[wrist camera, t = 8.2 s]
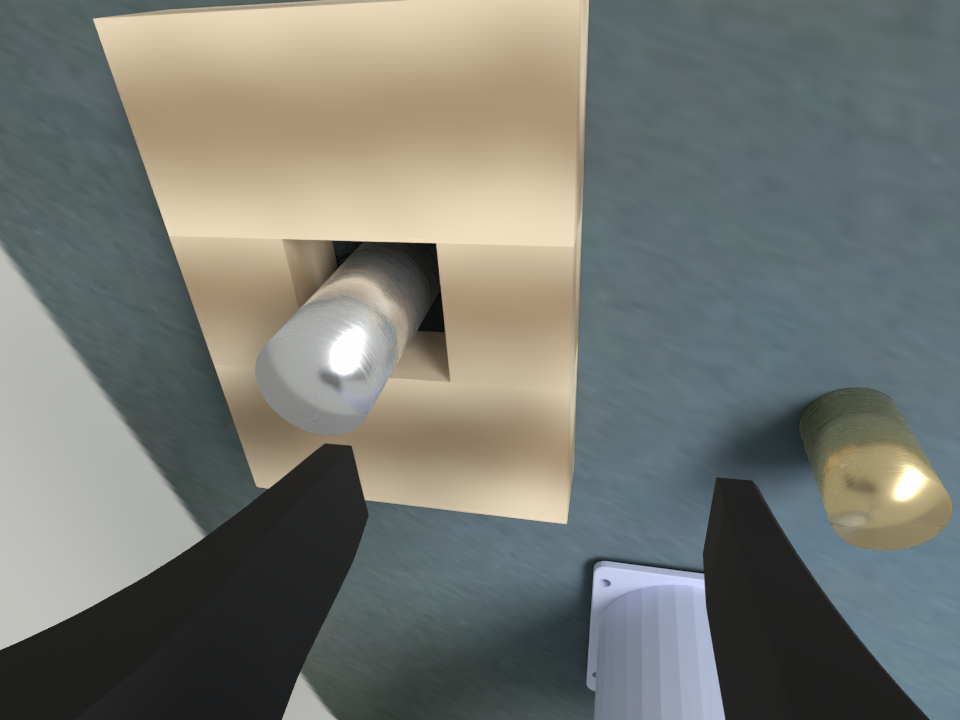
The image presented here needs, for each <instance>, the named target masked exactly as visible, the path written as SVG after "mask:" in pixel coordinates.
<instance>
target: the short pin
mask: <svg viewBox="0 0 960 720" xmlns="http://www.w3.org/2000/svg"><path fill="white" fill-rule="evenodd" d="M799 432H800V436H801V439H802V442H803V445H804V448H805V451H806V454H807V457H808V460H809V463H810V466H811V468H812V471H813V474H814V477H815V480H816V483H817V486H818V489H819V492H820V495H821V498H822V501H823V504H824V507H825V510H826V513H827V516H828V519H829V522H830V524H831V527H832V528H833V530H834V531H835V533H836V534H837V535H838V536H839V537H841V538H842V539H843V540H845V541H846V542H848V543H850V544H853V545H855V546H858V547H861V548H865V549H871V550H898V549H905V548H909V547H913V546H916V545H919V544H921V543H923V542H926V541H928V540H929V539H931V538H933V537H934V536H936V535H937V534H938V533H940V532H941V531H942V530H943V529H944V528H945V526H946V525H947V524H948V522H949V521H950V518H951V516H952V511H953V505H952V501H951V498H950V496H949V495H948V493H947V491H946V489H945V488H944V486H943V484H942V482H941V481H940V479H939V477H938V475H937V474H936V472H935V470H934V468H933V467H932V465H931V463H930V462H929V460H928V458H927V456H926V455H925V453H924V451H923V449H922V448H921V446H920V444H919V442H918V441H917V439H916V437H915V435H914V434H913V432H912V430H911V429H910V427H909V425H908V423H907V422H906V420H905V418H904V416H903V415H902V413H901V411H900V409H899V408H898V406H897V405H896V403H895V402H894V401H893V400H892V399H891V398H890V397H888V396H887V395H885V394H883V393H881V392H879V391H876V390H872V389H868V388H845V389H840V390H836V391H833V392H830V393H827V394H825V395H823V396H821V397H820V398H818V399H817V400H815V401H814V402H813V403H811V404H810V405H809V406H808V407H807V409H806V410H805V411H804V413H803V415H802V417H801V419H800V423H799Z"/></svg>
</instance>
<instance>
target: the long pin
mask: <svg viewBox="0 0 960 720" xmlns="http://www.w3.org/2000/svg"><path fill="white" fill-rule="evenodd" d="M440 290H441V285H440V275H439V266H438V256H437V249H436V248H435V246H434V245H433V244H432V243H409V242H371V241H364V242H363V243H362V244H361V245H360V246H359V247H358V248H357V249H356V250H355V251H354V252H353V253H352V254H351V255H350V256H349V257H348V259H347V260H346V261H345V262H344V263H343V264H342V265H341V266H340V267H339V268H338V269H337V270H336V271H335V272H334V273H333V274H332V275H331V276H330V277H329V279H328V280H327V281H326V282H325V283H324V284H323V285H322V286H321V287H320V288H319V289H318V290H317V291H316V292H315V293H314V294H313V295H312V296H311V297H310V299H309V300H308V301H307V302H306V303H305V304H304V305H303V306H302V307H301V308H300V309H299V310H298V311H297V312H296V313H295V314H294V315H293V316H292V317H291V319H290V320H289V321H288V322H287V323H286V324H285V325H284V326H283V327H282V328H281V329H280V330H279V331H278V332H277V333H276V334H275V335H274V336H273V338H272V339H271V340H270V341H269V342H268V343H267V344H266V345H265V346H264V347H263V348H262V350H261V351H260V352H259V354H258V357H257V359H256V363H255V377H256V381H257V384H258V387H259V390H260V392H261V394H262V395H263V397H264V399H265V400H266V402H267V403H268V404H269V405H270V407H271V408H272V409H273V410H274V411H275V412H276V413H277V414H279V415H280V416H281V417H282V418H283V419H285V420H286V421H288V422H289V423H291V424H293V425H294V426H296V427H298V428H300V429H303V430H305V431H308V432H311V433H315V434H321V435H339V434H344V433H347V432H350V431H352V430H354V429H355V428H357V427H358V426H360V424H361V423H362V422H363V421H364V420H365V418H366V417H367V415H368V413H369V412H370V410H371V408H372V407H373V405H374V403H375V401H376V400H377V398H378V396H379V395H380V393H381V391H382V389H383V388H384V386H385V384H386V383H387V381H388V379H389V377H390V376H391V374H392V372H393V371H394V369H395V367H396V365H397V364H398V362H399V360H400V359H401V357H402V355H403V353H404V352H405V350H406V348H407V347H408V345H409V343H410V342H411V340H412V338H413V336H414V335H415V333H416V331H417V330H418V328H419V326H420V324H421V323H422V321H423V319H424V318H425V316H426V314H427V312H428V311H429V309H430V307H431V306H432V304H433V302H434V300H435V299H436V297H437V295H438V294H439V292H440Z"/></svg>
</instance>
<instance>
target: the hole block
mask: <svg viewBox="0 0 960 720" xmlns="http://www.w3.org/2000/svg"><path fill="white" fill-rule="evenodd" d="M588 15H589V0H320V1H304V2H287V3H271V4H254V5H237V6H221V7H204V8H188V9H171V10H161V11H153V12H145V13H137V14H128V15H120V16H112V17H103V18H95V19H93V20H94V23H95V26H96V28H97V31H98V34H99V37H100V40H101V43H102V46H103V49H104V51H105V54H106V57H107V60H108V63H109V66H110V69H111V71H112V74H113V77H114V80H115V83H116V86H117V89H118V91H119V94H120V97H121V100H122V103H123V106H124V109H125V111H126V114H127V117H128V120H129V123H130V126H131V129H132V132H133V134H134V137H135V140H136V143H137V146H138V149H139V152H140V154H141V157H142V160H143V163H144V166H145V169H146V172H147V174H148V177H149V180H150V183H151V186H152V189H153V192H154V194H155V197H156V200H157V203H158V206H159V209H160V212H161V215H162V217H163V220H164V223H165V226H166V229H167V232H168V235H169V237H170V240H171V243H172V246H173V249H174V252H175V255H176V257H177V260H178V263H179V266H180V269H181V272H182V275H183V278H184V280H185V283H186V286H187V289H188V292H189V295H190V298H191V300H192V303H193V306H194V309H195V312H196V315H197V318H198V320H199V323H200V326H201V329H202V332H203V335H204V338H205V340H206V343H207V346H208V349H209V352H210V355H211V358H212V361H213V363H214V366H215V369H216V372H217V375H218V378H219V381H220V383H221V386H222V389H223V392H224V395H225V398H226V401H227V403H228V406H229V409H230V412H231V415H232V418H233V421H234V423H235V426H236V429H237V432H238V435H239V438H240V441H241V444H242V446H243V449H244V452H245V455H246V458H247V461H248V464H249V466H250V469H251V472H252V475H253V478H254V481H255V484H256V486H257V487H260V488H270V487H272V486H273V485H274V484H275V483H276V482H278V481H279V480H280V479H281V478H283V477H284V476H285V475H286V474H287V473H289V472H290V471H291V470H292V469H294V468H295V467H296V466H297V465H298V464H300V463H301V462H302V461H303V460H304V459H306V458H307V457H308V456H309V455H311V454H312V453H313V452H314V451H316V450H317V449H318V448H320V447H321V446H322V445H323V444H325V443H327V444H339V445H350V446H352V449H353V453H354V457H355V461H356V466H357V470H358V474H359V478H360V482H361V486H362V490H363V495H364V499H365V500H369V501H378V502H386V503H395V504H403V505H411V506H420V507H428V508H436V509H445V510H453V511H462V512H470V513H478V514H487V515H495V516H503V517H512V518H520V519H529V520H537V521H545V522H554V523H562V524H567V518H568V510H569V502H570V494H571V486H572V477H573V469H574V449H575V418H576V387H577V356H578V325H579V294H580V263H581V232H582V201H583V170H584V139H585V108H586V77H587V46H588ZM332 240H334V241H371V242H409V243H436V246H437V256H438V266H439V275H440V285H441V295H442V305H443V314H444V324H445V332H432V331H416V333H415V335H414V336H413V338H412V340H411V342H410V343H409V345H408V347H407V348H406V350H405V352H404V353H403V355H402V357H401V359H400V360H399V362H398V364H397V365H396V367H395V369H394V371H393V372H392V374H391V376H390V377H389V379H388V381H387V383H386V384H385V386H384V388H383V389H382V391H381V393H380V395H379V396H378V398H377V400H376V401H375V403H374V405H373V407H372V408H371V410H370V412H369V413H368V415H367V417H366V418H365V420H364V421H363V422H362V423H361V424H360V426H358V427H357V428H355V429H354V430H352V431H350V432H347V433H344V434H339V435H321V434H315V433H311V432H308V431H305V430H303V429H300V428H298V427H296V426H294V425H293V424H291V423H289V422H288V421H286V420H285V419H283V418H282V417H281V416H280V415H279V414H277V413H276V412H275V411H274V410H273V409H272V408H271V407H270V405H269V404H268V403H267V402H266V400H265V399H264V397H263V395H262V394H261V392H260V390H259V387H258V384H257V381H256V377H255V363H256V359H257V357H258V354H259V352H260V351H261V350H262V348H263V347H264V346H265V345H266V344H267V343H268V342H269V341H270V340H271V339H272V338H273V336H274V335H275V334H276V333H277V332H278V331H279V330H280V329H281V328H282V327H283V326H284V325H285V324H286V323H287V322H288V321H289V320H290V319H291V317H292V316H293V315H294V314H295V313H296V312H297V311H298V310H299V309H300V308H301V307H302V306H303V305H304V304H305V303H306V302H307V301H308V300H309V299H310V297H311V296H312V295H313V294H314V293H315V292H316V291H317V290H318V289H319V288H320V287H321V286H322V285H323V284H324V283H325V282H326V281H327V280H328V279H329V277H330V276H331V275H332V274H333V273H334V272H335V271H336V270H337V269H338V267H337V262H336V257H335V252H334V247H333V242H332Z"/></svg>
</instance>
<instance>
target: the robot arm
mask: <svg viewBox="0 0 960 720" xmlns="http://www.w3.org/2000/svg"><path fill="white" fill-rule="evenodd" d="M367 519H368V511H367V507H366V503H365V499H364V495H363V490H362V486H361V482H360V478H359V474H358V470H357V466H356V461H355V457H354V453H353V449H352V446H350V445H339V444H327V443H325V444H323V445H322V446H321V447H320V448H318V449H317V450H316V451H314V452H313V453H312V454H311V455H309V456H308V457H307V458H306V459H304V460H303V461H302V462H301V463H300V464H298V465H297V466H296V467H295V468H294V469H292V470H291V471H290V472H289V473H287V474H286V475H285V476H284V477H283V478H281V479H280V480H279V481H278V482H276V483H275V484H274V485H273V486H272V487H270V488H269V489H268V490H267V491H265V492H264V493H263V494H262V495H260V496H259V497H258V498H257V499H255V500H254V501H253V502H252V503H250V504H249V505H248V506H247V507H245V508H244V509H243V510H241V511H240V512H239V513H237V514H236V515H235V516H233V517H232V518H231V519H229V520H228V521H226V522H225V523H224V524H222V525H221V526H220V527H218V528H217V529H216V530H214V531H213V532H212V533H210V534H209V535H208V536H206V537H205V538H203V539H202V540H201V541H199V542H198V543H196V544H195V545H194V546H192V547H191V548H190V549H188V550H186V551H185V552H183V553H182V554H180V555H179V556H177V557H176V558H174V559H173V560H171V561H169V562H168V563H166V564H165V565H163V566H161V567H160V568H158V569H157V570H155V571H153V572H152V573H150V574H149V575H147V576H145V577H144V578H142V579H140V580H139V581H137V582H135V583H133V584H132V585H130V586H128V587H126V588H124V589H123V590H121V591H119V592H117V593H115V594H114V595H112V596H110V597H108V598H106V599H105V600H103V601H101V602H99V603H98V604H96V605H94V606H92V607H90V608H88V609H86V610H84V611H82V612H81V613H79V614H77V615H75V616H73V617H71V618H69V619H67V620H65V621H63V622H61V623H59V624H57V625H55V626H52V627H50V628H48V629H46V630H44V631H42V632H40V633H37V634H35V635H33V636H32V637H29V638H27V639H25V640H23V641H20V642H18V643H16V644H13V645H11V646H9V647H7V648H4V649H2V650H0V720H282V717H283V715H284V712H285V709H286V707H287V704H288V701H289V699H290V696H291V693H292V691H293V688H294V685H295V683H296V680H297V678H298V676H299V673H300V671H301V669H302V666H303V664H304V662H305V660H306V657H307V655H308V653H309V651H310V649H311V647H312V645H313V643H314V641H315V639H316V637H317V635H318V633H319V631H320V629H321V627H322V625H323V623H324V621H325V619H326V616H327V614H328V612H329V610H330V608H331V606H332V604H333V602H334V600H335V598H336V596H337V594H338V592H339V590H340V588H341V586H342V584H343V581H344V579H345V577H346V575H347V573H348V571H349V569H350V567H351V565H352V562H353V560H354V557H355V555H356V552H357V549H358V546H359V543H360V540H361V537H362V534H363V531H364V528H365V525H366V522H367ZM703 563H704V574H702V573H694V572H687V571H679V570H671V569H664V568H656V567H648V566H641V565H633V564H625V563H617V562H610V561H601V562H597V563H596V564H595V566H594V572H593V588H592V603H591V619H590V635H589V651H588V667H587V683H586V684H587V687H588V688H589V689H591V690H593V691H595V707H594V720H930V719H929V718H928V717H927V716H926V715H925V714H924V713H923V712H922V711H921V710H920V708H919V707H918V706H917V705H916V704H915V703H914V702H913V701H912V700H911V699H910V698H909V696H908V695H907V694H906V693H905V692H904V691H903V690H902V689H901V688H900V686H899V685H898V684H897V683H896V682H895V681H894V680H893V678H892V677H891V676H890V675H889V674H888V673H887V672H886V670H885V669H884V668H883V667H882V666H881V665H880V663H879V662H878V661H877V660H876V659H875V657H874V656H873V655H872V654H871V653H870V651H869V650H868V649H867V648H866V647H865V645H864V644H863V643H862V642H861V640H860V639H859V638H858V637H857V635H856V634H855V633H854V632H853V630H852V629H851V628H850V626H849V625H848V624H847V622H846V621H845V620H844V618H843V617H842V616H841V615H840V613H839V612H838V611H837V609H836V608H835V607H834V605H833V604H832V603H831V601H830V600H829V598H828V597H827V596H826V594H825V593H824V592H823V590H822V589H821V587H820V586H819V584H818V583H817V582H816V580H815V579H814V577H813V576H812V574H811V573H810V571H809V570H808V568H807V567H806V566H805V564H804V563H803V561H802V560H801V558H800V557H799V555H798V554H797V552H796V551H795V549H794V548H793V546H792V544H791V543H790V541H789V540H788V538H787V536H786V535H785V533H784V532H783V530H782V528H781V527H780V525H779V524H778V522H777V520H776V519H775V517H774V515H773V513H772V512H771V510H770V508H769V507H768V505H767V503H766V501H765V499H764V498H763V496H762V494H761V492H760V490H759V488H758V487H757V485H756V484H755V483H754V482H753V481H750V480H738V479H727V478H716V483H715V488H714V494H713V500H712V505H711V511H710V517H709V522H708V528H707V534H706V539H705V545H704V551H703ZM604 579H606V580H604Z"/></svg>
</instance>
